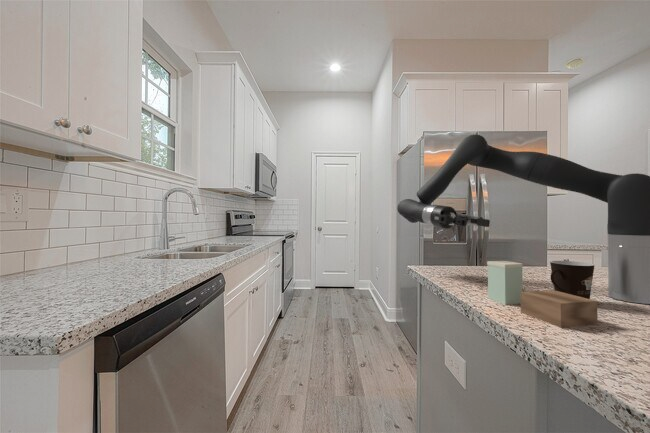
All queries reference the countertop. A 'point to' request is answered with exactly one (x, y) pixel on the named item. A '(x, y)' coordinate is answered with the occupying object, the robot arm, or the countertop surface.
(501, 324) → the countertop surface
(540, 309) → the walnut box
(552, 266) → the coffee mug
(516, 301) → the tea tin
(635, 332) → the countertop surface
